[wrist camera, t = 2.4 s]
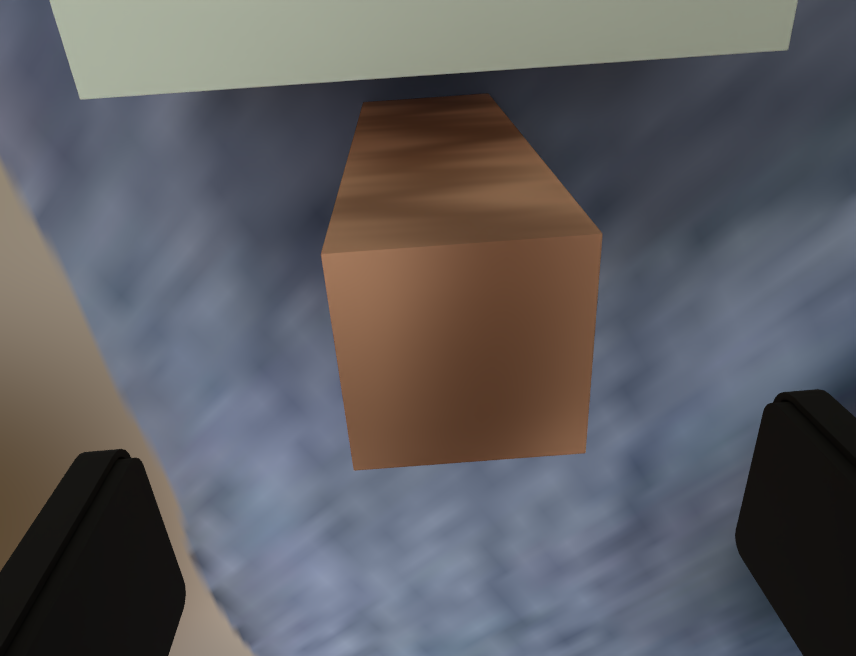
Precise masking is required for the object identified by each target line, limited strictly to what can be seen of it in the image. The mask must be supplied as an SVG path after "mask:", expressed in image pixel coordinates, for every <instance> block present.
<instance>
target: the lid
mask: <svg viewBox="0 0 856 656" xmlns="http://www.w3.org/2000/svg"><path fill="white" fill-rule="evenodd" d="M797 2H798V0H50V3H51V7H52V10H53V13H54V16H55V20H56V23H57V26H58V29H59V32H60V36H61V39H62V42H63V45H64V49H65V52H66V55H67V58H68V61H69V65H70V68H71V71H72V74H73V78H74V81H75V84H76V87H77V91H78V94H79V97H80V99H94V98H108V97H122V96H137V95H151V94H165V93H180V92H194V91H208V90H223V89H237V88H251V87H266V86H280V85H294V84H309V83H323V82H337V81H352V80H366V79H380V78H395V77H409V76H423V75H438V74H452V73H466V72H481V71H495V70H509V69H524V68H538V67H552V66H567V65H581V64H595V63H610V62H624V61H638V60H653V59H667V58H681V57H696V56H710V55H724V54H739V53H753V52H767V51H782V50H788V47H789V42H790V37H791V32H792V27H793V22H794V17H795V12H796V7H797Z"/></svg>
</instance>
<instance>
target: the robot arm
mask: <svg viewBox="0 0 856 656" xmlns="http://www.w3.org/2000/svg"><path fill="white" fill-rule="evenodd" d="M735 539H736V545H737V549H738V551H739V554H740V556H741V558H742V559H743V561H744V563H745V564H746V566H747V567H748V569H749V570H750V572H751V574H752V575H753V577H754V578H755V580H756V582H757V583H758V585H759V586H760V588H761V589H762V591H763V593H764V594H765V596H766V597H767V599H768V601H769V602H770V604H771V605H772V607H773V608H774V610H775V612H776V613H777V615H778V616H779V618H780V620H781V621H782V623H783V624H784V626H785V627H786V629H787V631H788V632H789V634H790V635H791V637H792V639H793V640H794V642H795V643H796V645H797V647H798V648H799V650H800V651H801V653H802V654H803V656H856V418H855V417H854V416H853V415H852V414H851V413H850V412H849V411H848V410H847V409H845V408H844V407H843V406H842V405H841V404H840V403H839V402H838V401H837V400H835V399H834V398H833V397H832V396H831V395H830V394H829V393H827V392H825V391H824V390H819V389H816V390H804V391H792V392H783V393H780V394H778V395H777V396H776V397H775V399H774V402H773V403H770V404H767V406H766V407H765V408H764V411H763V415H762V419H761V424H760V428H759V432H758V437H757V441H756V445H755V450H754V454H753V458H752V462H751V467H750V471H749V475H748V480H747V484H746V488H745V493H744V497H743V501H742V506H741V510H740V514H739V519H738V523H737V527H736V533H735ZM185 596H186V591H185V583H184V580H183V577H182V574H181V571H180V568H179V565H178V563H177V560H176V557H175V554H174V551H173V548H172V545H171V543H170V540H169V537H168V534H167V531H166V528H165V525H164V522H163V520H162V517H161V514H160V511H159V508H158V506H157V503H156V500H155V497H154V494H153V491H152V488H151V485H150V482H149V480H148V477H147V474H146V471H145V468H144V465H143V463H142V461H140V459H139V458H131V457H130V455H129V453H128V452H127V451H126V450H123V449H116V450H105V451H93V452H84V453H81V454H79V456H78V457H77V458H76V459H75V460H74V462H73V463H72V465H71V466H70V468H69V469H68V471H67V472H66V474H65V475H64V477H63V478H62V480H61V481H60V483H59V484H58V486H57V488H56V489H55V490H54V492H53V494H52V495H51V497H50V498H49V499H48V501H47V502H46V504H45V505H44V507H43V508H42V510H41V512H40V513H39V514H38V516H37V517H36V519H35V520H34V522H33V523H32V525H31V526H30V528H29V530H28V531H27V532H26V534H25V536H24V537H23V539H22V540H21V542H20V543H19V545H18V546H17V548H16V549H15V551H14V552H13V554H12V555H11V557H10V558H9V560H8V561H7V563H6V564H5V566H4V567H3V569H2V570H1V572H0V656H168V655H169V652H170V648H171V645H172V642H173V639H174V636H175V633H176V630H177V627H178V624H179V621H180V618H181V615H182V612H183V609H184V604H185Z"/></svg>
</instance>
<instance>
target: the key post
mask: <svg viewBox="0 0 856 656" xmlns="http://www.w3.org/2000/svg"><path fill="white" fill-rule="evenodd" d="M601 246H602V233H601V231H600V230H599V229H598V228H597V226H596V225H595V224H594V223H593V222H592V220H591V219H590V218H589V217H588V215H587V214H586V213H585V212H584V210H583V209H582V208H581V207H580V206H579V204H578V203H577V202H576V201H575V199H574V198H573V197H572V196H571V194H570V193H569V192H568V191H567V190H566V188H565V187H564V186H563V185H562V183H561V182H560V181H559V180H558V178H557V177H556V176H555V175H554V174H553V172H552V171H551V170H550V169H549V167H548V166H547V165H546V164H545V163H544V161H543V160H542V159H541V158H540V156H539V155H538V154H537V153H536V151H535V150H534V149H533V148H532V147H531V145H530V144H529V143H528V142H527V140H526V139H525V138H524V137H523V135H522V134H521V133H520V132H519V131H518V129H517V128H516V127H515V126H514V124H513V123H512V122H511V121H510V119H509V118H508V117H507V116H506V115H505V113H504V112H503V111H502V110H501V108H500V107H499V106H498V105H497V103H496V102H495V101H494V100H493V99H492V97H491V96H490V95H489V94H473V95H459V96H445V97H430V98H416V99H402V100H388V101H373V102H363V105H362V109H361V112H360V116H359V119H358V123H357V127H356V130H355V134H354V137H353V141H352V145H351V148H350V152H349V155H348V159H347V163H346V166H345V170H344V173H343V177H342V180H341V184H340V188H339V191H338V195H337V198H336V202H335V206H334V209H333V213H332V216H331V220H330V224H329V227H328V231H327V234H326V238H325V241H324V245H323V249H322V252H321V257H322V264H323V271H324V277H325V284H326V290H327V297H328V304H329V310H330V317H331V323H332V330H333V336H334V343H335V350H336V356H337V363H338V369H339V376H340V382H341V389H342V396H343V402H344V409H345V415H346V422H347V428H348V435H349V442H350V448H351V455H352V461H353V468H354V470H367V469H381V468H394V467H407V466H421V465H434V464H447V463H461V462H474V461H487V460H500V459H514V458H527V457H540V456H554V455H567V454H580V453H585V452H586V439H587V426H588V413H589V401H590V388H591V375H592V362H593V349H594V336H595V323H596V310H597V297H598V285H599V272H600V259H601Z"/></svg>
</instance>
